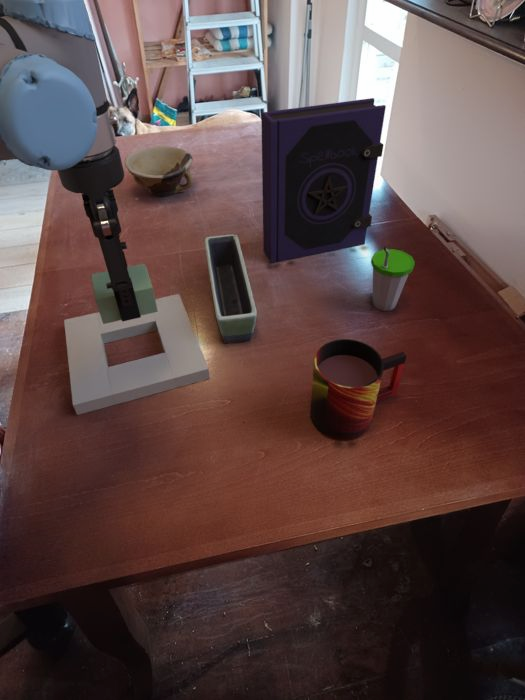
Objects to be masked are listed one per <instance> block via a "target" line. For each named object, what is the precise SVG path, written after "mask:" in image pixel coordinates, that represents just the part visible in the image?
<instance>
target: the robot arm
mask: <svg viewBox="0 0 525 700" xmlns="http://www.w3.org/2000/svg"><path fill="white" fill-rule="evenodd" d="M1 1H2V7H3V8H2V11H3V14H4V16H0V162H2V161H11V160H13V161H14V160H18V161H19V162H20V163H22V164H24V165H26V166H28V167H35V168H39V169H43V170H46V171H57V174H58V177H59V180H60V184H61V185H62V187H63V188H64V189H65V190H67V191H68V192H70V193H74V194H81V198H82V202H83V203H82V204H83V208H84V211H85V216H86V217H87V218H88V219H89V222H90V226H91V229H92V233H93V235H94V237H95V238H97V239H98V243H99V246H100V249H101V252H102V256H103V259H104V263H105V267H106V271H108V274H109V277H110V280H111V282H110V283H106V286H107V289H109V288H112V289H113V292H114V295H115V299H116V302H117V305H118V309H119V312H120V316H121V319H122V322H123V321H127V320H132V319H136V318H140V317H141V316H140V312H139V308H138V304H137V300H136V296H135V292H134V289H133V284H132V281H131V278H130V277H129V273H128V269H127V267H129V266H128V262H127V257H126V255H125V251H124V250H128V245H127V242H126V241H121V236H120V234H121V233H122V227H121V223H120V218H119V215H118V212H119V207H118V203H117V199H116V196H115V192H114V189H113V188H116V187H118V186H119V185H120V184H121V183H122V182H123V180H124V178H125V170H124V166H123V162H122V157H121V153H120V149H119V148H118V147H117V146H116V144H117V138H116V133H115V129H114V126H113V125H116V124H118V121H119V120H118V117H117V115H116V114H111V111H110V109H109V107H110V106H109V102H108V97H107V93H106V88H105V87H106V86H105V83H104V78H103V74H102V70H101V65H100V60H99V56H98V51H97V46H96V36H95V34H94V32H93V28H92V24H91V21H90V17H89V14H88V11H87V8H86V4H85V1H84V0H1Z"/></svg>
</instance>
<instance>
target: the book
mask: <svg viewBox="0 0 525 700" xmlns="http://www.w3.org/2000/svg"><path fill="white" fill-rule="evenodd" d="M386 108H387V107H386V105H385V104H382V105H375V98H374V97H372V98H363V99H355V100H347V101H339V102H332V103H324V104H317V105H309V106H301V107H295V108H294V107H293V108H285V109H277V110H271V111H262V112H261V115H260V117H261V176H262V177H261V178H262V179H261V180H262V181H261V183H262V235H263V236H262V238H263V239H262V245H263V246H262V247H263V248H262V249H263V253H264V254H265V256H266V258H267V259H268V261H269V262H270V263H271V264H273V263H276V262H277V263H278V262H283V261H288V260H294V259H298V258H302V257H307V256H313V255H317V254H322V253H328V252H332V251H336V250H337V251H338V250H343V249H348V248H352V247H357V246H362V245H365V243H366V237H367V231H368V227H371V225H372V219H373V216H372V215H371V213H370V212H371V206H372V205H371V204H372V197H373V191H374V185H375V179H376V172H377V166H378V159H379V157H380V158H381V157H382V156H383V150H384V144H383V143H382V142H381V141H382V140H381V139H382V132H383V126H384V121H385V114H386Z"/></svg>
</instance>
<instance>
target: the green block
mask: <svg viewBox="0 0 525 700" xmlns="http://www.w3.org/2000/svg"><path fill="white" fill-rule="evenodd" d="M127 269H128V273H129V277H130V278H131V281H132V284H133V289H134V292H135V296H136V300H137V304H138V308H139V312H140V316H141V315H146V314H150V313H155V312H158V310H157V305H156V301H155V299H156V297H155V296H156V295H155V292H154V288H153V284H152V280H151V278H150V274H149V272H148V268H147V266H146V263H140V264H135V265H132V266H131V265H130V266H128V267H127ZM90 276H91V283H92V289H93V295H94V301H95V304H96V307H97V310H98V312H99V313H100V316H101V319H102V322H103V324H106V323H111V322H115V321H119V320H122V319H121V316H120V312H119V309H118V305H117V302H116V299H115V295H114V292H113V289H112V288H109V289H107V286H106V283H110V282H111V280H110V277H109V274H108V270H106V271H101V272H96V273H91V274H90Z"/></svg>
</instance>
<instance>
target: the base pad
mask: <svg viewBox="0 0 525 700" xmlns="http://www.w3.org/2000/svg"><path fill="white" fill-rule="evenodd" d="M155 301H156V305H157V310H158V312H155V313H150V314H146V315H141V317H140V318H136V319H132V320H127V321H123V322H122V320H119V321H115V322H111V323H106V324H103V322H102V319H101V316H100V313H99V311H98V312H92V313H88V314H85V315H80V316H79V315H78V316H75V317H71V318H67V319H64V320H63V325H64V332H65V333H64V334H65V342H66V343H65V344H66V353H67V362H68V371H69V381H70V393H71V401H72V402H71V403H72V407H73V409H74V412H75V414H76V415H77V416H79V415H83V414H87V413H90V412H93V411H97V410H101V409H105V408H108V407H111V406H115V405H119V404H123V403H127V402H131V401H134V400H138V399H142V398H144V397H148V396H152V395H156V394H159V393H163V392H166V391H171V390H174V389H178V388H181V387H185V386H188V385H192V384H195V383H200V382H203V381H206V380H210V379H211V376H210V375H211V374H210V369H209V366H208V363H207V361H206V359H205V356H204V354H203V351H202V349H201V345H200V343H199V341H198V339H197V336H196V334H195V333H196V332H195V330H194V328H193V325H192V323H191V321H190V318H189V316H188V313H187V310H186V308H185V305H184V303H183V301H182V297H181V295H180V293H177V294H171V295H167V296H163V297H159V298H155ZM154 332H157V333H158V337H159V340H160V343H161V346H162V349H163V352H161V353H157V354H153V355H150V356H146V357H142V358H139V359H135V360H131V361H127V362H122V363H118V364H115V365H110V366H109V364H108V358H107V352H106V347H105V344H108V343H112V342H116V341H117V342H118V341H121V340H125V339H129V338H133V337H136V336H141V335H146V334H150V333H154Z"/></svg>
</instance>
